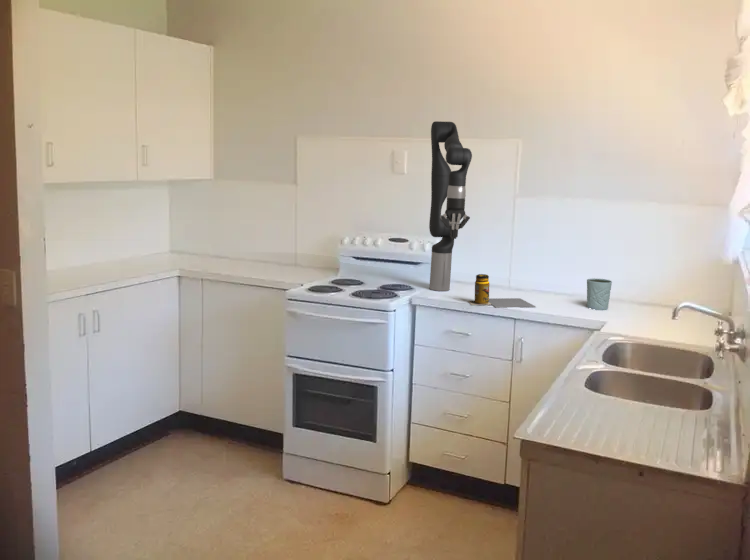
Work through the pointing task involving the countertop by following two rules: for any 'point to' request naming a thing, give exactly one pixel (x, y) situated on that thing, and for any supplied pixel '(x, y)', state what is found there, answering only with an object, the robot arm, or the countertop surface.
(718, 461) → the countertop surface
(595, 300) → the green embossed plant pot
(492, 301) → the mat
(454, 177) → the robot arm
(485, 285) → the condiment
